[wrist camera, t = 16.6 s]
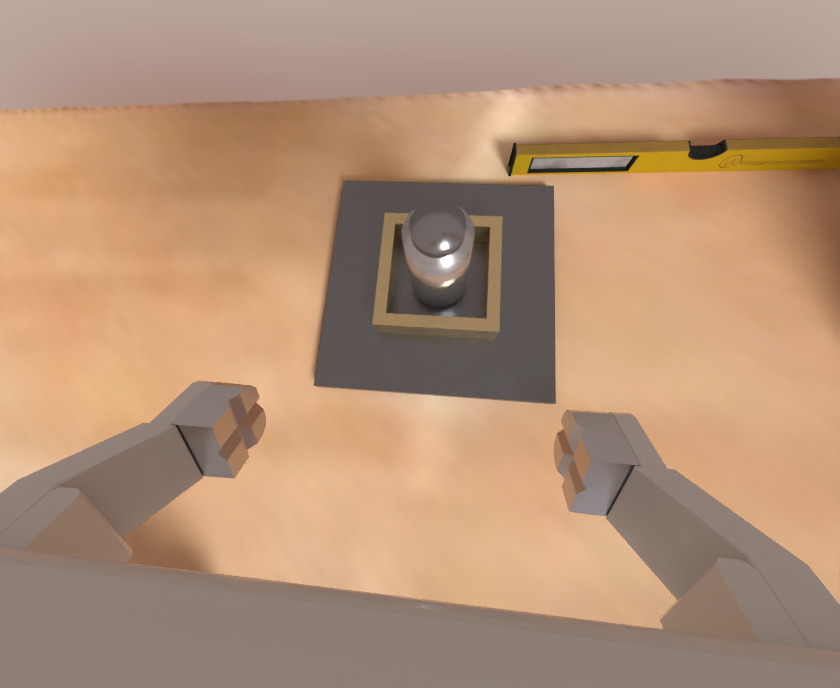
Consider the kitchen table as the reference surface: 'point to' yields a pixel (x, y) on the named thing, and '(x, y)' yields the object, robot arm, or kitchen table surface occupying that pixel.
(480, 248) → the collar plate
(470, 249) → the domed metal canister
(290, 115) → the kitchen table surface
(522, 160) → the spirit level
